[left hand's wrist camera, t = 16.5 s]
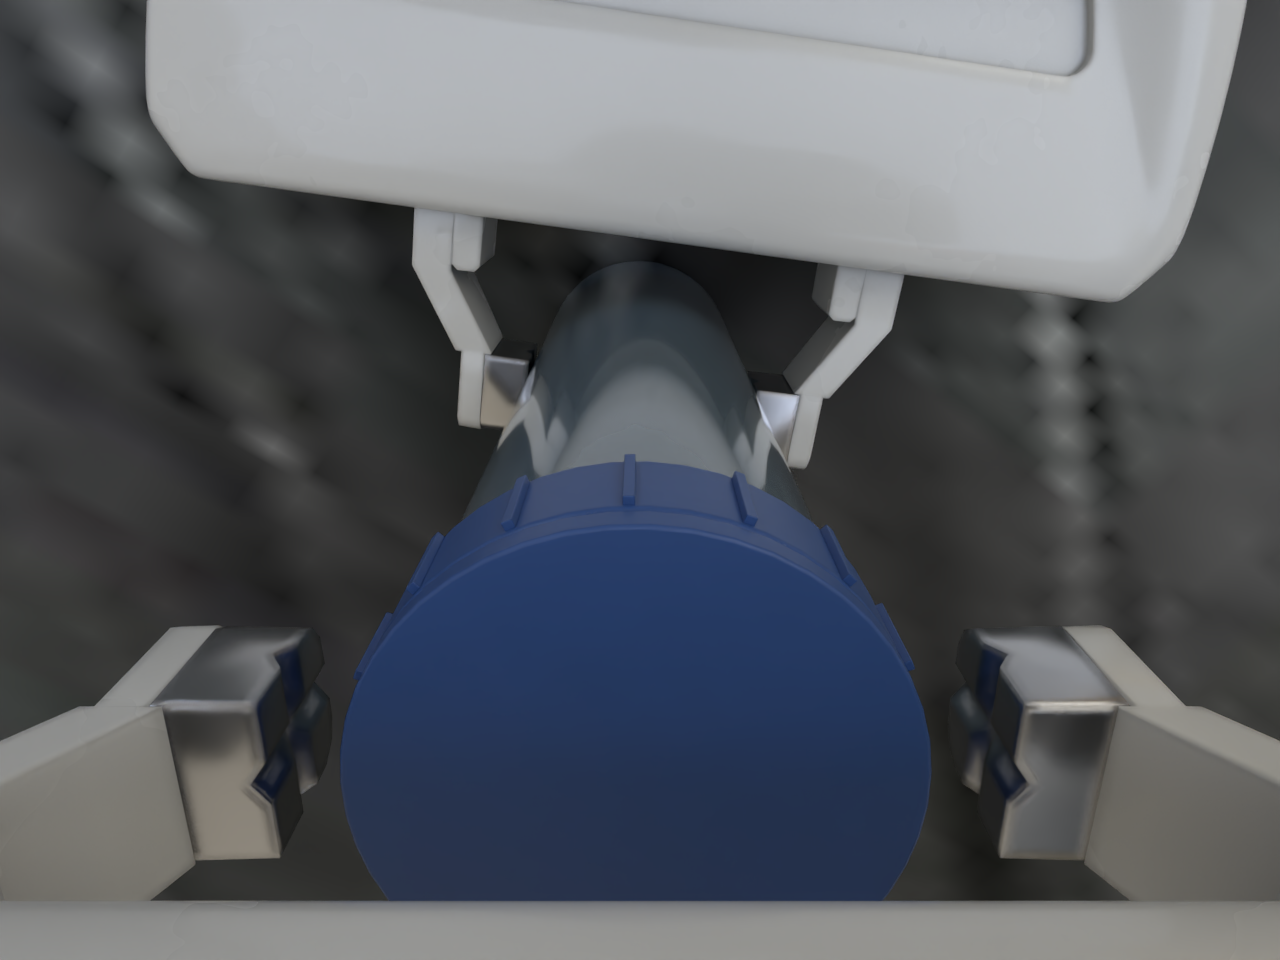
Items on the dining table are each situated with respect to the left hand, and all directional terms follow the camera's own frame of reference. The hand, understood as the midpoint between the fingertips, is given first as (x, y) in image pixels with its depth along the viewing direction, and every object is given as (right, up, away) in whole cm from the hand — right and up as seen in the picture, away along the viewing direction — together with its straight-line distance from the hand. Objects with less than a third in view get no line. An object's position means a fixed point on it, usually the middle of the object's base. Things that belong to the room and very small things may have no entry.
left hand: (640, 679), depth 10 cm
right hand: (0, +3, +11) cm, 11 cm away
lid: (0, -1, -2) cm, 2 cm away
